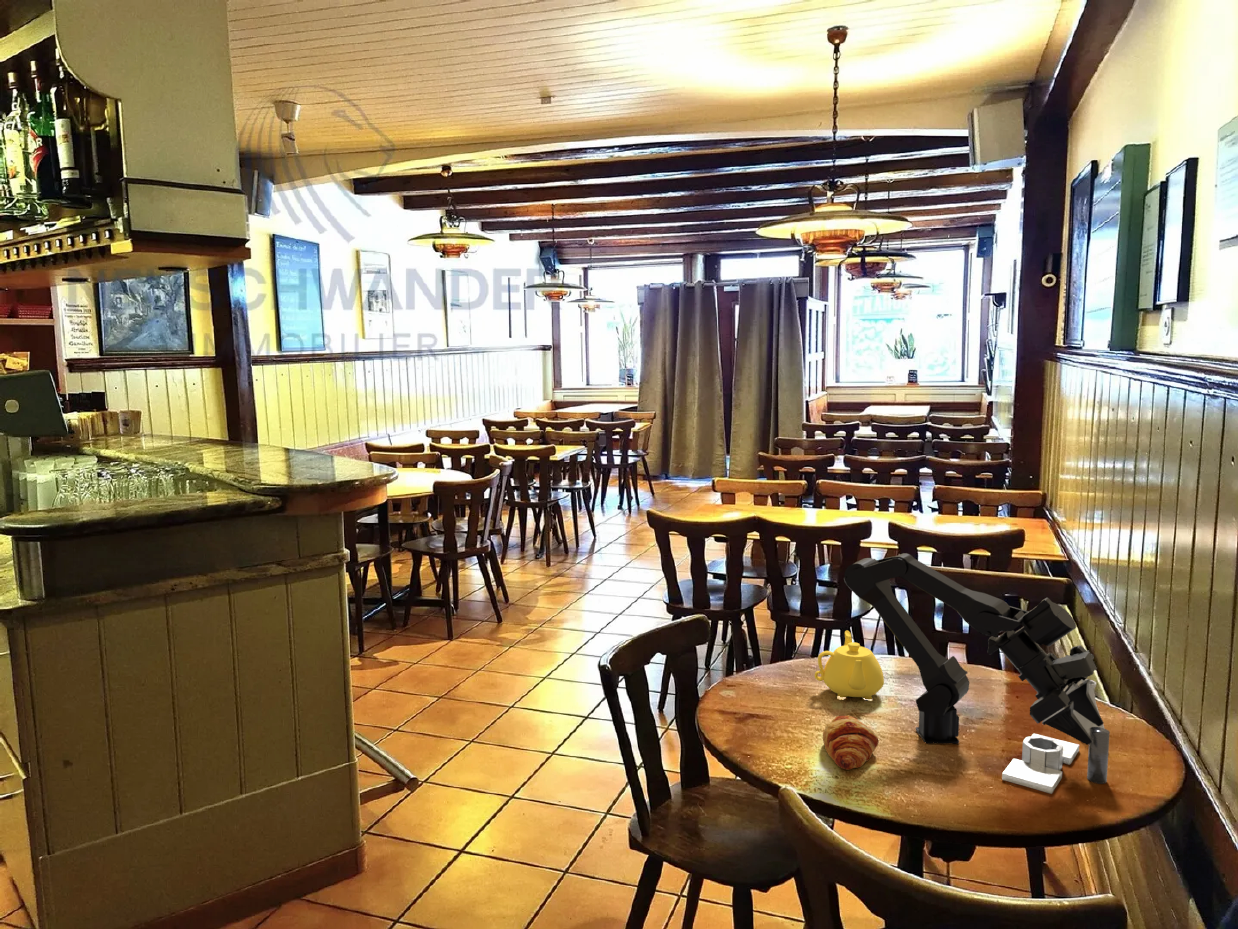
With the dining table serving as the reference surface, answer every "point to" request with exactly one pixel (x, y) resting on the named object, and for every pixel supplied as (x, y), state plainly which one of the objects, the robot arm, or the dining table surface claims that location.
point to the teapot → (851, 670)
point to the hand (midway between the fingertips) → (1095, 734)
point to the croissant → (849, 742)
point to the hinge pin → (1098, 755)
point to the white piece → (1040, 763)
